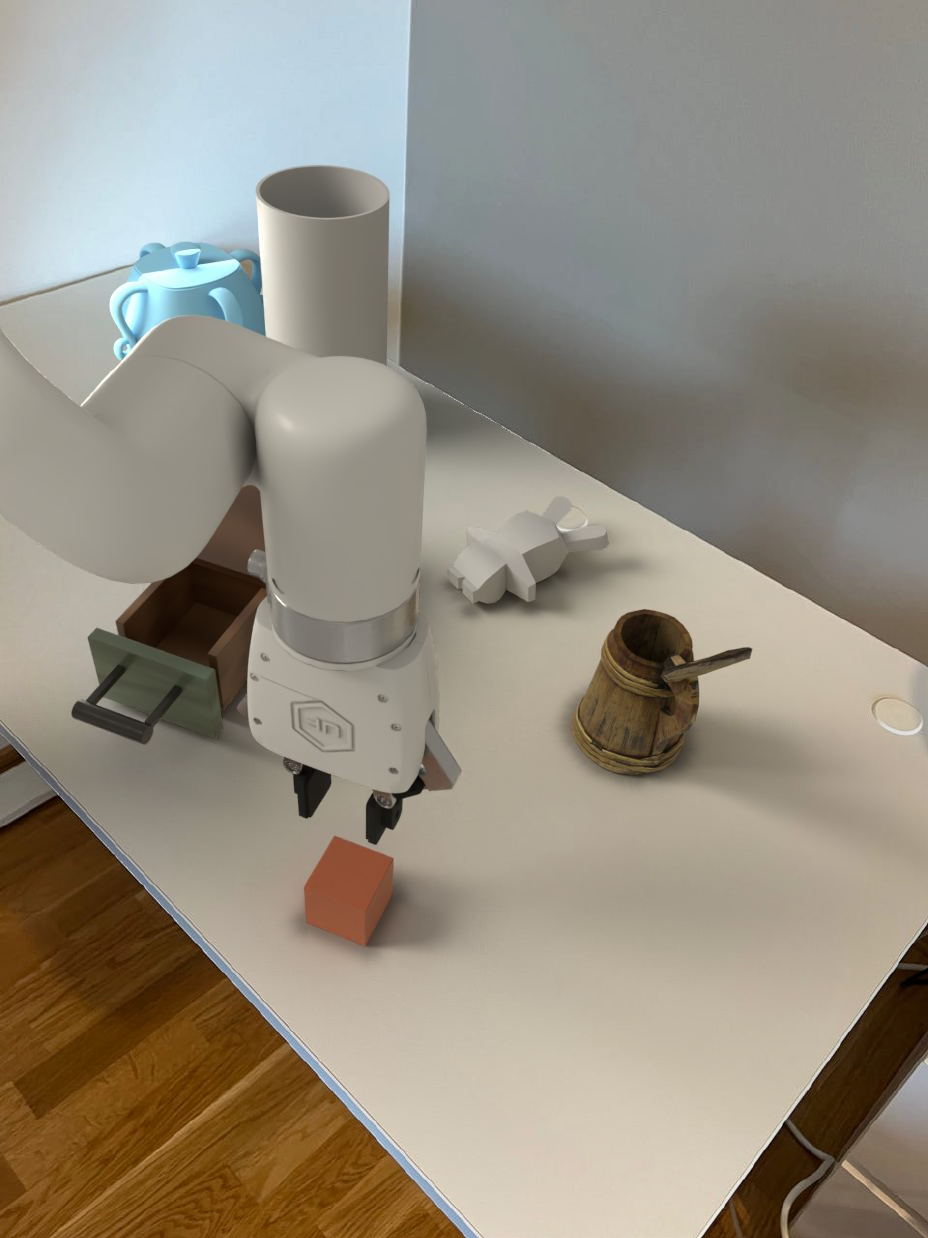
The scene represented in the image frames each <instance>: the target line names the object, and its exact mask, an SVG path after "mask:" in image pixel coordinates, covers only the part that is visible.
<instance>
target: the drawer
mask: <svg viewBox="0 0 928 1238" xmlns="http://www.w3.org/2000/svg"><path fill="white" fill-rule="evenodd" d="M266 596H267V589H266V587H264V586H261V585H258V584H255V583H252V582H249V581H246V580H243V579H240V578H237V577H234V576H231V575H228V574H225V573H222V572H219V571H216V570H213V569H210V568H207V567H204V566H201V565H198V564H195V563H192V562H191V563H190V564H189V565H188V566H187V567H185V568H184V569H182V570H181V571H179V572H178V573H176V574H174V575H173V576H171V577H169V578H166V579H163V580H160V581H156V582H153V583H149V585H148V586H147V587H146V588H145V589H144V590H143V591H142V592H141V593H140V594H139V595H138V597H136V599H134V600H133V602H132V603H130V604H129V606H128V607H127V608H126V609H125V610H124V611H123V612H122V613H121V614H120V615H119V617H117V619H116V620H115V626H116V631H117V634H116V633H114V632H111V631H109V630H105V629H102V628H99V627H95V628H94V629H93V630H92V631H91V632H90V634H89V635H87V641H88V645H89V650H90V654H91V657H92V661H93V665H94V670H95V674H96V677H97V682H98V686H96V688H95V689H94V690H93V691H92V693H90V695H89V696H88V697H87V698H86V699H78V700H77V701H76V702H75V703H74V704H73V706H72V708H71V718H72V719H74V720H77V721H80V722H82V723H84V724H88V725H90V726H92V727H95V728H98V729H101V730H103V731H106V732H108V733H111V734H113V735H116V736H119V737H122V738H124V739H127V740H129V741H132V742H134V743H138V744H140V745H145V746H146V745H147V744H148V743H150V741H151V739H152V738H153V735H154V727H156V725H157V723H158V722H159V721H160V720H164V721H167V722H169V723H171V724H174V725H177V726H180V727H183V728H185V729H188V730H190V731H193V732H196V733H199V734H201V735H205V736H207V737H209V738H212V739H217V738H218V736H219V735H220V734H221V732H222V731H223V730H224V723H223V717H222V712H225V711H226V709H227V708H228V707H229V705H231V703H232V702H233V700H234V699H235V698H236V696H237V695H238V694H239V692H241V690H242V689H243V687H244V686H245V685H246V684H247V677H248V661H249V652H250V644H251V637H252V631H253V625H254V621H255V616H256V612H257V609H258V606H259V605H260V603H261V602H262V601H263V599H264V598H265V597H266ZM104 698H105V699H106V700H110V701H113V702H115V703H118V704H121V705H123V706H125V707H128V708H132V709H134V710H136V711H139V712H142V713H145V714H148V716H147V717H146V719H145V720H144V721H141V720H139V719H136V718H133V717H131V716H128V715H125V714H122V713H120V712H117V711H114V710H112V709H109V708H106V707H103V706H101V705H98V703H99V702H100V701H101V700H102V699H104Z"/></svg>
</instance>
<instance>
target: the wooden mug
mask: <svg viewBox="0 0 928 1238" xmlns="http://www.w3.org/2000/svg"><path fill="white" fill-rule="evenodd" d="M693 647H694V645H693V638H692V636H691V634H690V632H689V631H688V629H687V627H686V626H685V625H684V624H683V623H681V621H680V620H678V619H677V618H676V617H675V616H672V615H670V614H669V613H664V612H662V611H657V610H655V609H654V610H653V609H647V608H643V609H638V610H633V611H629V612H626V613H624V614H623V615H621V616H620V617H619V618H618V620H617V621H616V623H615V625H614V627H613V628H611V630H610V631H609V632H608V634H607V635H606V638H605V640H604V641H603V644H602V645H601V649H600V660H599V662H598V665H597V667H596V669H595V671H594V673H593V676H592V678H591V680H590V682H589V685H588V688H587V690H586V691H585V694H584V695H583V696H582V697H581V698H580V700H579V702H578V703H577V704H578V705H577V706H576V708H575V710H574V713H573V715H572V717H571V723H570V731H571V733H572V734H571V735H572V737H573V740H574V741H575V743H576V744H577V746H578V748H579V749H580V751H581V752H582V753H583V754H585V756H587V758H589V759H590V760H591V761H592V762H593V763H595V764H597V765H598V766H599V767H601V768H603V769H606V770H609V771H611V772H614V773H616V774H624V775H631V776H635V775H640V774H648V773H654V772H659V771H662V770H664V769H666V768H667V767H668V766H670V765H671V764H673V763H674V761H675V760H676V759H677V758H678V756H679V755H680V753H681V752H682V749H683V747H684V744H685V740H686V734H687V732H688V731H689V730H690V729H691V728H692V726H693V724H694V723H695V722H696V720H697V716H698V712H699V707H700V683H699V682H700V681H699V677H700V676H702V675H706V674H709V673H712V672H714V671H718V670H721V669H723V668H726V667H730V666H732V665H735V664H738V663H741V662H744V661H747V660H750V659H751V656H752V652H753V648H752V647H750V646H746V647H744V646H743V647H739V648H734V649H732V648H731V649H726V650H724V651H722V652H719V653H716V654H715V655H710V656H708V657H704V658H701V659H697V660H695V656H694V655H695V654H694V649H693Z"/></svg>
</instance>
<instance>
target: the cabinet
mask: <svg viewBox="0 0 928 1238" xmlns="http://www.w3.org/2000/svg"><path fill="white" fill-rule="evenodd" d="M255 550H261V551H264V552H265V541H264V530H263V520H262V507H261V495H260V491H259V489H258V488H257V487H256V486H253V485H247V486H245V487H242V489H241V490H240V492H239V494H238V495H237V497H236V498H235V500H234V502H233V503H232V505H231V507H230V508H229V510H228V511H227V513H226V515H225V516H224V518H223V520H222V521H221V523H220V524H219V526H218V528H217V529H216V531H215V532H214V534H213V536H212V537H211V539H210V540H209V542H208V543H207V545H206V546H205V547H204V549H203V550H202V551H201V552H200V554H199V555H198V556H197V557H196V558H195V559H194V560H193V561H192V563H195V564H198V565H201V566H204V567H207V568H210V569H213V570H216V571H219V572H222V573H225V574H228V575H231V576H234V577H237V578H240V579H243V580H246V581H249V582H252V583H255V584H258V585H261V586H264V587H266V584H265V583H264V582H263V581H262V580H261V579H260V578H259V577H258V576H255V575H252V574H249V572H248V569H247V567H248V561H249V558H250V556H251V554H252V553H253V551H255Z"/></svg>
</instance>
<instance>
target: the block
mask: <svg viewBox="0 0 928 1238" xmlns="http://www.w3.org/2000/svg"><path fill="white" fill-rule="evenodd" d="M394 860H395V859H394V857H392V856H390V855H387V854H384V853H382V852H379V851H376V850H374V849H371V848H368V847H366V846H364V845H360V844H358V843H355V842H353V841H350V840H347V839H345V838H342V837H340V836H338V835H334V836H333V837H332V838H331V840H330V842H329V844H328V845H327V847H326V849H325V850H324V852H323V854H322V855H321V857H320V858H319V860H318V862H317V864H316V865H315V868H313V871H312V873H311V874H310V876H309V877H308V879H307V881H306V883H305V884H304V885H303V895H304V897H303V898H304V906H305V907H304V910H305V922H306V923H307V924H309V925H311V926H313V927H316V928H318V929H321V930H323V931H326V932H327V933H330V934H333V935H336V936H338V937H340V938H343V939H346V940H348V941H350V942H353V943H355V944H358V945H359V946H363V947H366V946H367V944H368V942H369V940H370V938H371V936H372V935H373V932H374V931H375V929H376V927H377V925H378V924H379V922H380V919H381V917H382V915H383V913H384V911H385V909H386V908H387V905H388V903H389V901H390V900H391V897H392V896H393V891H394V890H393V887H394Z"/></svg>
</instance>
